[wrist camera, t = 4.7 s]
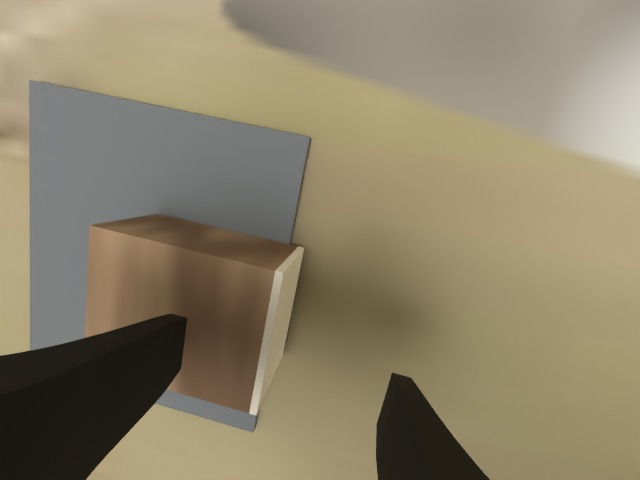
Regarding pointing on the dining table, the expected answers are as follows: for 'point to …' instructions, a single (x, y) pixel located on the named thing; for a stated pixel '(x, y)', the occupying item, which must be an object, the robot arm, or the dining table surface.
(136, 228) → the walnut block
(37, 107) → the mat
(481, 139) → the dining table surface
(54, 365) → the robot arm
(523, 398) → the dining table surface
